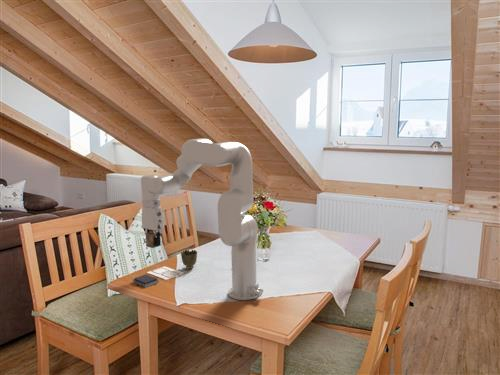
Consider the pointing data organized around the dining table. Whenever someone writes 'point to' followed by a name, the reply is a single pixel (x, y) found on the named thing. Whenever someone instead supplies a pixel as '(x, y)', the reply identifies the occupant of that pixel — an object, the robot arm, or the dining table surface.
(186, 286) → the dining table surface
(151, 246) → the stamp
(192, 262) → the carved brown lampshade
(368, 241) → the dining table surface
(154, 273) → the sheet
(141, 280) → the ink pad
